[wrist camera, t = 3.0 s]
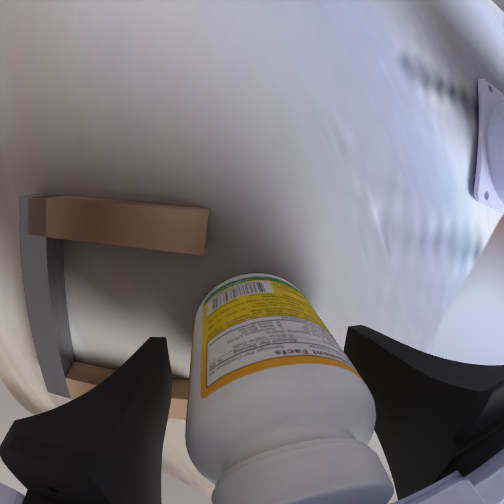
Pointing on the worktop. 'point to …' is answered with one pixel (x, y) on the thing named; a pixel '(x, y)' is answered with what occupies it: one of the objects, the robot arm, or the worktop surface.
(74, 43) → the worktop surface
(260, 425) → the supplement bottle
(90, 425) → the robot arm
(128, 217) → the walnut dock
